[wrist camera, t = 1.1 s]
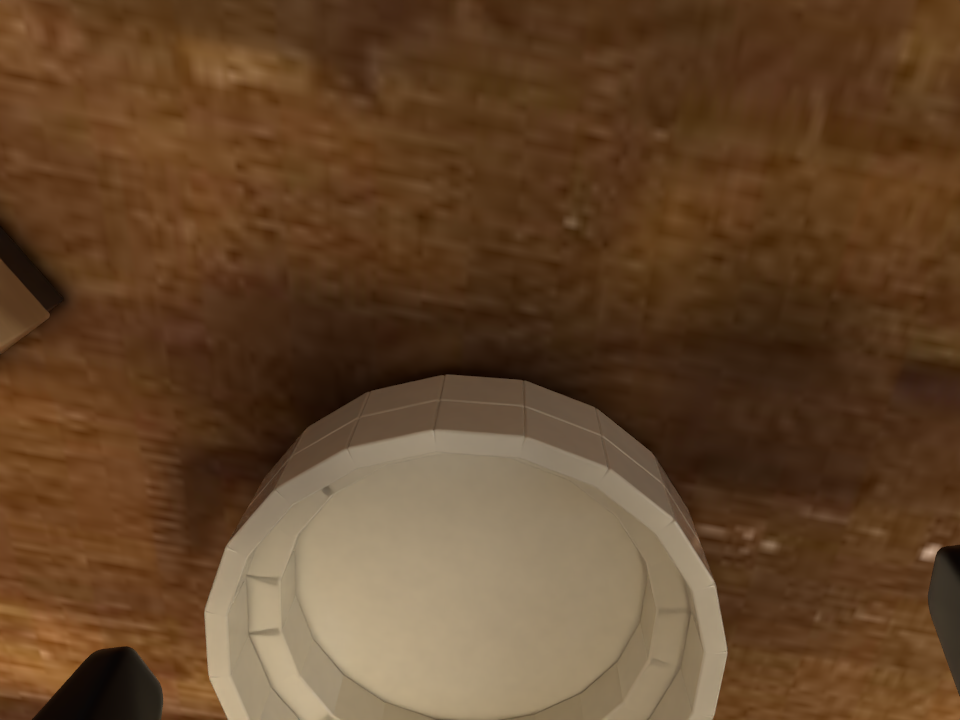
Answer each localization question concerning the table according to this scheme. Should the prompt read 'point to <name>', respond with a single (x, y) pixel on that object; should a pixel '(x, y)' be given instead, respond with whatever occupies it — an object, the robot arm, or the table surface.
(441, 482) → the bowl
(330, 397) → the table surface
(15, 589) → the table surface
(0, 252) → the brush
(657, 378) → the table surface
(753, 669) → the table surface
